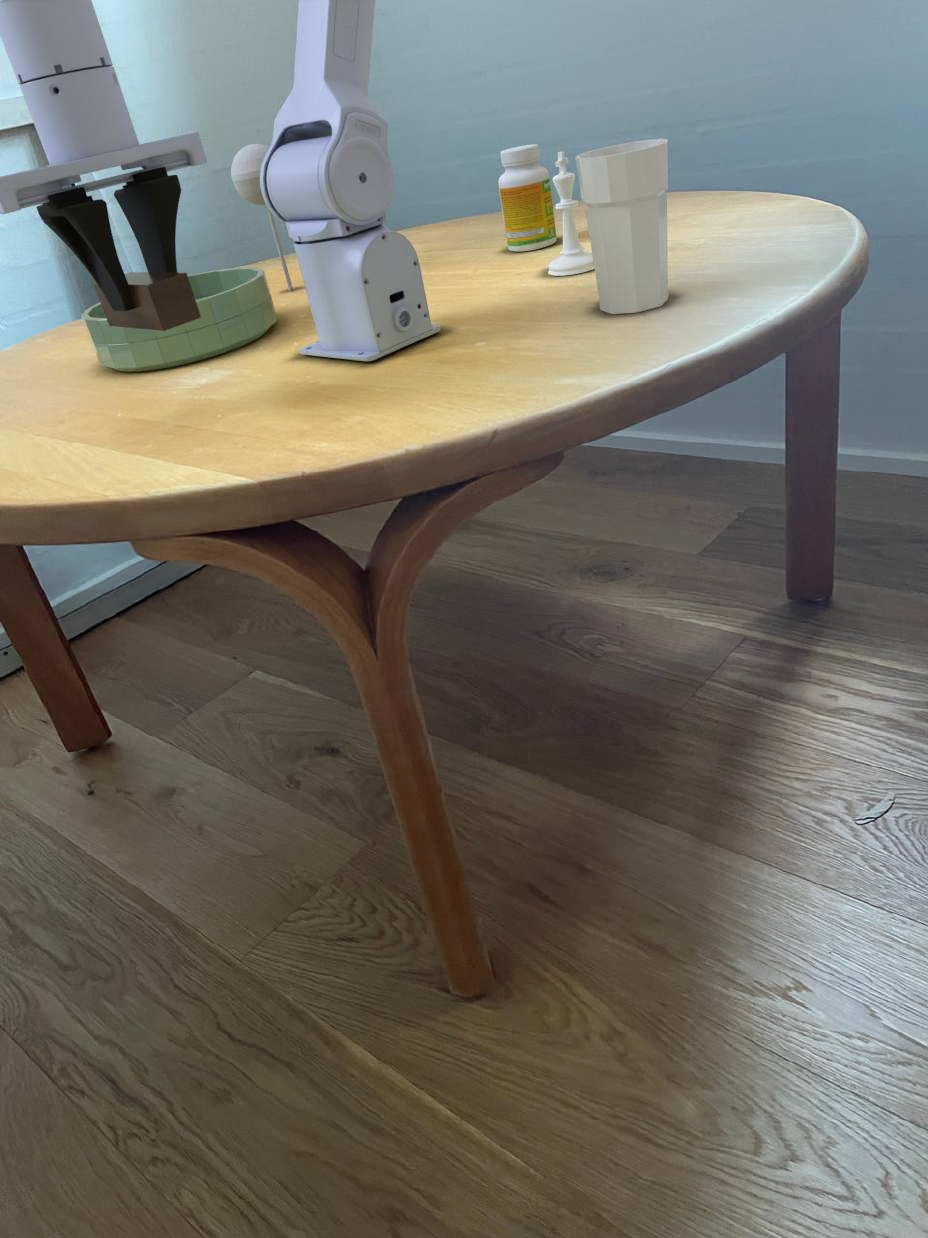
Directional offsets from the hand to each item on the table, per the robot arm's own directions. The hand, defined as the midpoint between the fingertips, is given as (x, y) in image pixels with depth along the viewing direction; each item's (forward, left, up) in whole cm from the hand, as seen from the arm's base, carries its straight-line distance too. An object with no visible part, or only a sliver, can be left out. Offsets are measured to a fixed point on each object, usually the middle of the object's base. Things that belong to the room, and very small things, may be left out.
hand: (147, 301), depth 63 cm
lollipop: (+30, -31, -8) cm, 44 cm away
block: (0, 0, -1) cm, 1 cm away
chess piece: (-4, -40, -8) cm, 41 cm away
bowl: (+22, -13, -8) cm, 27 cm away
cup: (-18, -30, -9) cm, 36 cm away
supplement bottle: (+9, -49, -8) cm, 50 cm away
